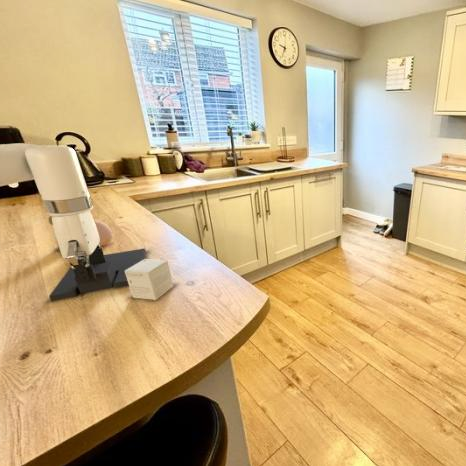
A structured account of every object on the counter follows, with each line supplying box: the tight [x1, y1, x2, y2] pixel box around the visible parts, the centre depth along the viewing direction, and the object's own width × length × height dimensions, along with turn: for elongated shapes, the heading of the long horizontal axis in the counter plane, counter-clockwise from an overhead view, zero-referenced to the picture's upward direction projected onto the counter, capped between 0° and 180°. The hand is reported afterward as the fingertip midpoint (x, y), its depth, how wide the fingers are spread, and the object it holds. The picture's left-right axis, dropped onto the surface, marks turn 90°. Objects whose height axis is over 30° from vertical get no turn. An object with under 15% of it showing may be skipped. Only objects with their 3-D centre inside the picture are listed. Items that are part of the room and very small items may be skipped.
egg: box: [94, 220, 114, 248], centre depth 90 cm, size 7×7×8 cm
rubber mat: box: [49, 248, 147, 302], centre depth 76 cm, size 16×20×2 cm
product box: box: [125, 258, 174, 301], centre depth 67 cm, size 6×6×7 cm
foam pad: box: [74, 262, 117, 295], centre depth 70 cm, size 6×6×4 cm
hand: (93, 272), depth 70 cm, fingers open, 9 cm apart
